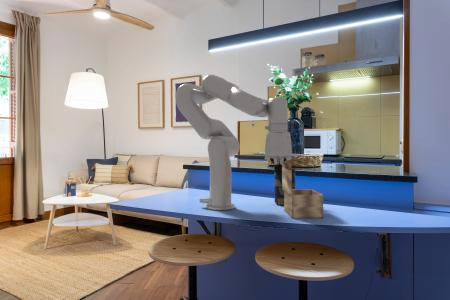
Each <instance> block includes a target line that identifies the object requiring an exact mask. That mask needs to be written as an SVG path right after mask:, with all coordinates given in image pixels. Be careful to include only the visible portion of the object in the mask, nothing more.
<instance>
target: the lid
mask: <svg viewBox="0 0 450 300" xmlns="http://www.w3.org/2000/svg"><path fill="white" fill-rule="evenodd" d="M291 168H292V163H291V162H289V161H285V162H284V163H283V165H282V189H283V190H284V191H286V192H287V193H288V194H290V195H292V171H291Z"/></svg>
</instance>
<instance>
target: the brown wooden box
mask: <svg viewBox="0 0 450 300" xmlns="http://www.w3.org/2000/svg"><path fill="white" fill-rule="evenodd" d="M283 211H284V212H285V213H286V214H287V215H288V216H289V218H290V219H324V194H323V193H320V192H318V191H316V190H314V189H307V188H306V189H305V188H304V189H303V188H302V189H300V188H299V189H297V188H295V189H292V195H290V194H288V193H287V192H286V191H284V205H283Z"/></svg>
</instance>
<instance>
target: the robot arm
mask: <svg viewBox="0 0 450 300" xmlns="http://www.w3.org/2000/svg"><path fill="white" fill-rule="evenodd" d="M217 99H219V100H221V101H222V102H225V104H228V105H230V106H231V107H233V108H235V109H237V110H238V111H241V112H242V113H245V114H247V115H248V116H252V117H256V118H267V117H268V124H267V125H265V126H264V130H267V131H268V132H266V134H265V135H266V137H265V145H264V160H266V161H270V162H271V164H273V173H274V174H275V173H276V175H281V173H282V165H283V163H284V162H288V161H291V160H292V159H293V158H292V155H293V154H292V153H293V149H292V139H291V132H290V131H288V129H289V128H288V126H289V125H288V100H287V98H285V97H282V96H281V97H279V96H278V97H271V98H269V99H265V98H261V97H258V96H255V95H253V94H251V93H248V92H247V91H244V90H242V89H241V88H240V87H239V86H238V85H237V84H235V83H233V82H230V81H228V80H227V79H226V78H224V77H221V76H218V75H215V74H208V75H205V76H204V77H203V79H202V80H201V85H197V84H193V83H183V84H181V85H180V86H178V87H177V89H176V92H175V103H176V106H177V109H178V110H179V112H180V114H182V116H183V117H184V118H185V119H186V120H187V122H188V123H189V125H190V126H191V128H193V130H194V131H195V132H196V134H197V135H198V136H199V137H200V138H201V139H202V140H203V139H204V140H208V141H209V140H210V141H209V142H208V144H207V152H208V154H207V155H208V160H209V161H208V162H209V196H208V197H206V198H201V197H200V198H199V203H200V204H205V205H206V207H205V208H206V209H208V210H212V211H228V210H233V209H235V204H234V203H232V162H231V157H234V156H237V154H238V153H239V151H240V148H241V146H240V141H239V139H238V138H237V137H236V136H235V135H234V133H233V132H232V131H231V130H230V129H229V128H228V126H227V125H226V124H225V123H224V122H223V121H222V120H219V119H215V118H211V117H209V116H208V114H206V112H205V111H204V110H203V108H202V107H200V105H203V104H207V103H211V102H212V101H214V100H217ZM277 158H279V160H278V159H277Z"/></svg>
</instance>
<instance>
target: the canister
mask: <svg viewBox="0 0 450 300" xmlns="http://www.w3.org/2000/svg"><path fill="white" fill-rule="evenodd" d="M291 171H292V189H296V169H295V168H293V167H291ZM274 204H276V205H279V206H284V190H283V189H282V173H281V175H276V173H274Z"/></svg>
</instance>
